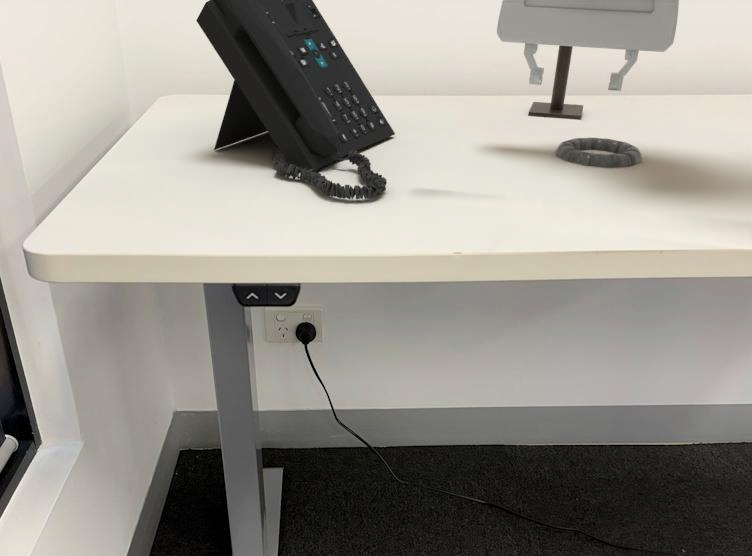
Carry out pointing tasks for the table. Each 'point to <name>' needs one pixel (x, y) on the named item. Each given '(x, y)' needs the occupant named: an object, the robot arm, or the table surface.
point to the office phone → (294, 90)
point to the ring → (622, 157)
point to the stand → (559, 92)
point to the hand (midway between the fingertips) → (574, 86)
